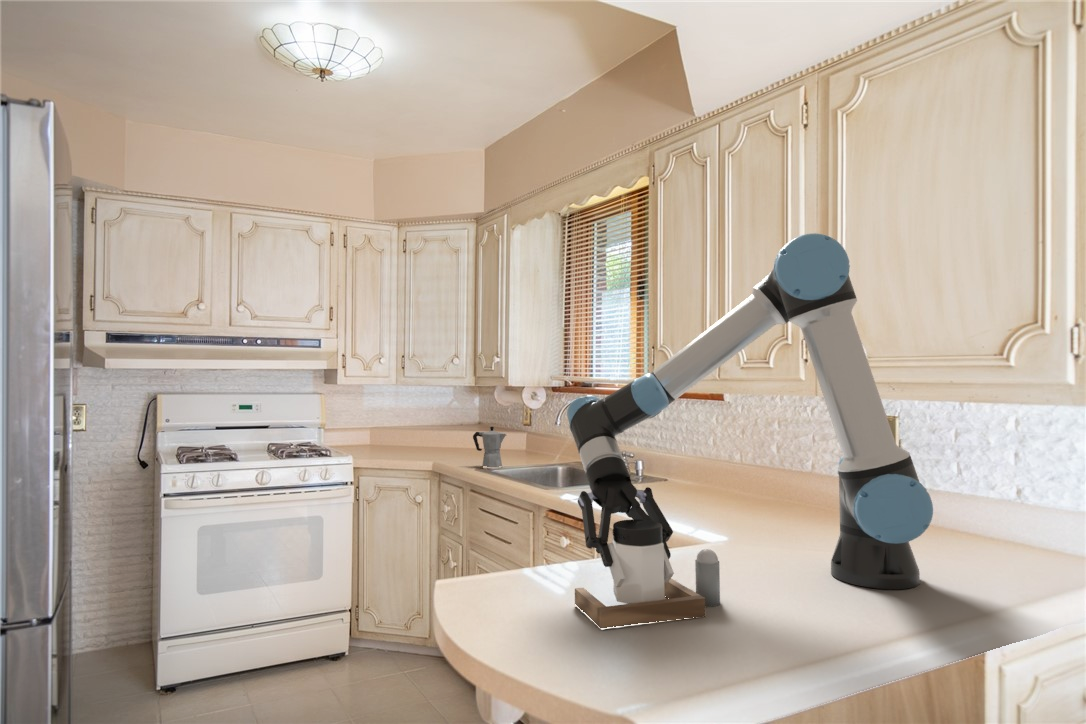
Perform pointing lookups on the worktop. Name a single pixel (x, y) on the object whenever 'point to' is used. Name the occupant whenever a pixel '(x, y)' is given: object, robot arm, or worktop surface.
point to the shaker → (708, 577)
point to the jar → (639, 560)
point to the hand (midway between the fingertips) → (645, 580)
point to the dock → (643, 607)
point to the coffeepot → (490, 447)
